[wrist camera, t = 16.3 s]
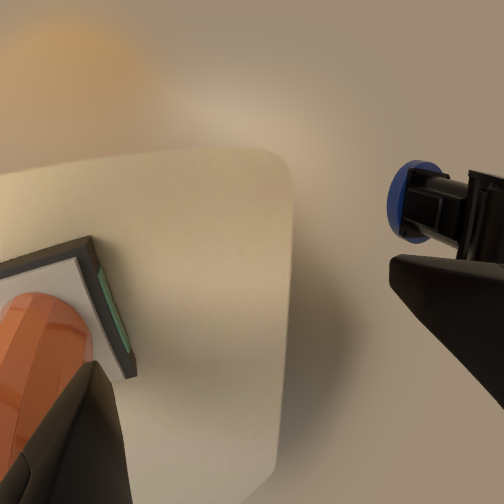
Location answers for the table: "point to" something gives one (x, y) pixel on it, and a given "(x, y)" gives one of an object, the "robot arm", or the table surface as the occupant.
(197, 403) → the table surface
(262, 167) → the table surface
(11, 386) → the cup
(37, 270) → the scale
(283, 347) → the table surface
